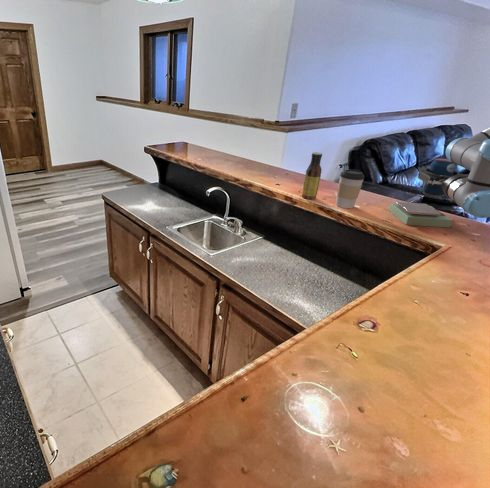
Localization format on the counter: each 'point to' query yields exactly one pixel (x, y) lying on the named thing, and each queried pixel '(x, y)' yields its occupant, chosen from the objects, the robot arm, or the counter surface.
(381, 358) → the counter surface
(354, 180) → the coffee cup
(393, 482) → the counter surface
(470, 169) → the robot arm
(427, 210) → the scale pan
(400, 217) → the scale
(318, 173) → the sauce bottle
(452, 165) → the soda can
